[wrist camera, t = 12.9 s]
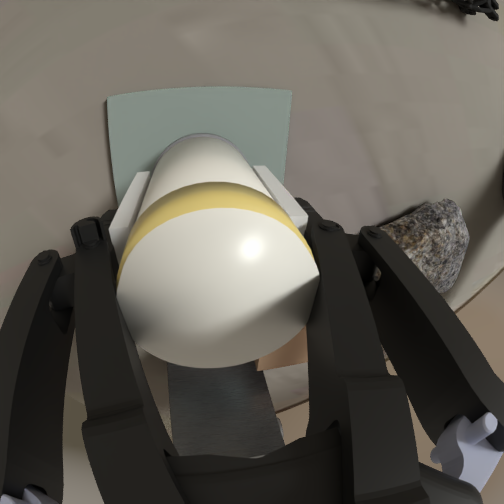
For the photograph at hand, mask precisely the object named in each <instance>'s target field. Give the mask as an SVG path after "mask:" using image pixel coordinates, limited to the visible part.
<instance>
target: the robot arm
mask: <svg viewBox="0 0 504 504" xmlns="http://www.w3.org/2000/svg"><path fill="white" fill-rule="evenodd" d="M252 170H253V171H254V173H255V174H256V175H257V177H258V178H259V180H260V181H261V182H262V184H263V185H264V187H265V188H266V189H267V191H268V192H269V194H270V195H271V197H272V198H273V199H274V201H275V202H276V203H278V204H279V205H280V206H281V207H282V208H283V210H284V211H285V212H286V213H287V214H288V216H289V217H290V219H291V220H292V221H293V223H294V224H295V226H296V227H297V229H298V230H299V232H300V233H301V234H302V236H303V237H304V239H305V240H306V242H307V244H308V246H309V247H310V249H311V252H312V255H313V257H314V261H315V263H316V266H317V269H318V272H319V277H320V281H319V284H318V288H317V292H316V295H315V299H314V302H313V306H312V309H311V313H310V316H309V319H308V322H307V323H306V334H307V353H308V377H309V422H308V427H307V430H306V437H303V438H299V439H297V440H295V441H294V442H292V443H290V444H288V445H286V446H284V447H282V448H280V449H278V450H275V451H273V452H271V453H269V454H267V455H265V456H262V457H259V458H242V457H230V456H220V455H212V454H207V455H194V456H180V455H179V454H178V452H177V450H176V448H175V447H174V445H173V443H172V441H171V439H170V437H169V435H168V433H167V431H166V429H165V426H164V424H163V422H162V419H161V417H160V414H159V412H158V409H157V407H156V404H155V402H154V399H153V396H152V394H151V391H150V388H149V385H148V383H147V380H146V377H145V374H144V371H143V368H142V365H141V362H140V359H139V355H138V352H137V349H136V345H135V342H134V340H133V339H132V336H131V334H130V331H129V329H128V327H127V324H126V322H125V319H124V317H123V314H122V311H121V309H120V306H119V303H118V301H117V298H116V296H117V291H116V282H117V274H118V270H119V266H120V263H121V259H122V256H123V252H124V249H125V246H126V243H127V239H128V236H129V234H130V232H131V229H132V227H133V225H134V224H135V222H136V220H137V217H138V214H139V211H140V208H141V205H142V202H143V200H144V197H145V194H146V191H147V188H148V186H149V183H150V180H151V178H150V171H146V172H137V174H136V176H135V177H134V179H133V181H132V183H131V185H130V187H129V189H128V190H127V192H126V194H125V196H124V198H123V200H122V202H121V204H120V206H119V208H118V209H116V210H108V211H107V212H106V213H105V214H103V215H102V217H101V218H99V217H88V218H84V219H82V220H79V221H78V222H76V223H75V224H74V225H73V226H72V227H71V229H70V230H71V234H72V237H73V241H74V244H75V247H76V253H75V254H73V255H70V256H67V257H63V258H60V256H59V254H58V252H57V251H56V250H47V251H43V252H41V253H39V254H38V255H37V256H36V257H35V258H34V259H33V260H32V262H31V264H30V266H29V268H28V269H27V271H26V273H25V275H24V277H23V279H22V281H21V283H20V285H19V287H18V289H17V291H16V294H15V296H14V298H13V300H12V302H11V305H10V307H9V309H8V312H7V314H6V317H5V319H4V322H3V324H2V327H1V330H0V504H62V500H63V486H64V484H63V454H62V433H63V432H62V431H63V410H64V409H63V408H64V397H65V387H66V378H67V370H68V363H69V357H70V351H71V345H72V340H73V334H74V329H76V343H77V353H78V362H79V370H80V377H81V384H82V390H83V395H84V401H85V406H86V411H87V420H86V421H85V422H83V423H82V435H83V440H84V444H85V448H86V451H87V455H88V459H89V462H90V465H91V468H92V471H93V474H94V477H95V480H96V483H97V486H98V488H99V491H100V494H101V496H102V499H103V501H104V504H483V501H482V498H481V495H480V492H481V490H482V488H483V487H484V485H485V483H486V482H487V481H488V479H489V477H490V476H491V474H492V472H493V470H494V469H495V467H496V465H497V463H498V461H499V459H500V457H501V456H502V454H503V453H504V383H503V382H502V381H501V380H500V379H499V378H498V377H497V376H496V374H495V373H494V372H493V370H492V368H491V367H490V365H489V364H488V362H487V360H486V358H485V357H484V355H483V354H482V352H481V351H480V349H479V348H478V346H477V345H476V343H475V341H474V340H473V338H472V337H471V336H470V334H469V333H468V331H467V330H466V328H465V327H464V326H463V324H462V323H461V322H460V320H459V319H458V318H457V316H456V315H455V313H454V312H453V310H452V309H451V308H450V307H449V305H448V304H447V303H446V301H445V300H444V299H443V297H442V296H441V295H440V294H439V292H438V291H437V290H436V289H435V287H434V286H433V285H432V284H431V283H430V281H429V280H428V279H427V278H426V277H425V275H424V274H423V273H422V272H421V271H420V270H419V268H418V267H417V266H416V265H415V264H414V263H413V262H412V260H411V259H410V258H409V257H408V256H407V255H406V254H405V253H404V251H403V250H402V249H401V248H400V247H399V246H398V245H397V244H396V243H395V242H394V241H393V240H392V239H391V237H390V236H389V235H388V234H387V233H385V232H384V231H383V230H381V229H379V228H378V227H375V226H363V227H362V228H361V230H360V233H359V235H353V234H346V233H345V232H344V230H343V228H342V227H341V226H340V225H339V224H338V223H335V222H333V221H330V220H323V218H322V217H321V216H320V215H319V214H318V213H317V212H316V211H315V209H314V208H313V207H312V206H311V205H310V204H309V203H308V202H307V201H305V200H303V199H302V198H293V197H292V196H291V194H290V193H289V192H288V191H287V190H286V189H285V187H284V186H283V185H282V184H281V183H280V182H279V181H278V179H277V178H276V177H275V176H274V175H273V174H272V173H271V172H270V170H269V169H268V168H267V167H266V166H253V168H252ZM503 198H504V176H503ZM378 269H379V270H380V272H381V276H380V278H379V280H378V279H377V277H376V273H377V270H378ZM49 305H50V306H49ZM380 342H381V343H380ZM381 344H382V346H383V348H384V350H385V352H386V353H387V355H388V357H389V359H390V361H391V363H392V365H393V366H394V369H395V371H396V373H397V375H398V376H394V375H390V374H389V373H388V370H387V367H386V363H385V359H384V355H383V351H382V347H381ZM406 393H407V394H406ZM407 395H408V397H409V400H410V402H411V404H412V406H413V408H414V411H415V413H416V415H417V417H418V419H419V421H420V423H421V425H422V427H423V429H424V430H425V432H426V433H427V435H428V436H429V438H430V439H431V440H432V442H433V443H434V444H435V445H436V447H435V448H434V449H433V450H432V451H431V456H430V457H431V460H432V462H433V463H441V465H442V470H443V471H442V472H441V471H438V470H436V469H434V468H431V467H429V466H427V465H424V464H423V463H420V462H418V454H417V447H416V441H415V435H414V429H413V423H412V418H411V413H410V408H409V403H408V398H407Z"/></svg>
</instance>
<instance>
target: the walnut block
mask: <svg viewBox="0 0 504 504" xmlns="http://www.w3.org/2000/svg"><path fill="white" fill-rule="evenodd" d="M254 361H255V365H256V369H257V371H262V370H268V369H274V368H279V367H285V366H290V365H295V364H300V363H305V362H308V353H307V334H306V325H305V326H304V327H303V328H302V329H301V331H300V332H299V333H298V334H297V335H296V336H294V337H293V338H292V339H291V340H290V341H289V342H287V343H286V344H285V345H283V346H282V347H280V348H278V349H277V350H275V351H274V352H272V353H270V354H268V355H266V356H263V357H261V358H259V359H256V360H254Z"/></svg>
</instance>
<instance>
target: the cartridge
mask: <svg viewBox="0 0 504 504" xmlns="http://www.w3.org/2000/svg"><path fill="white" fill-rule="evenodd" d="M319 281H320V277H319V272H318V269H317V266H316V263H315V261H314V257H313V255H312V252H311V249H310V247H309V246H308V244H307V242H306V240H305V239H304V237H303V236H302V234H301V233H300V232H299V230H298V229H297V227H296V226H295V224H294V223H293V221H292V220H291V219H290V217H289V216H288V214H287V213H286V212H285V211H284V210H283V208H282V207H281V206H280V205H279V204H278V203H276V202H275V201H274V199H273V198H272V197H271V195H270V194H269V192H268V191H267V189H266V188H265V187H264V185H263V184H262V182H261V181H260V180H259V178H258V177H257V175H256V174H255V173H254V171H253V170H252V168H251V167H250V166H249V163H248V161H247V159H246V158H245V156H244V155H243V153H242V152H241V151H240V150H239V148H238V147H237V146H236V145H235V144H233V143H232V142H231V141H229V140H228V139H226V138H224V137H222V136H219V135H216V134H211V133H194V134H190V135H186V136H183V137H181V138H179V139H177V140H175V141H174V142H172V143H171V144H170V145H168V146H167V147H166V148H165V149H164V150H163V152H162V153H161V154H160V156H159V157H158V159H157V161H156V163H155V166H154V168H153V171H152V175H151V180H150V183H149V186H148V188H147V191H146V194H145V197H144V200H143V202H142V205H141V208H140V211H139V214H138V217H137V220H136V222H135V224H134V225H133V227H132V229H131V232H130V234H129V236H128V239H127V243H126V246H125V249H124V252H123V256H122V259H121V263H120V266H119V270H118V274H117V282H116V291H117V296H116V298H117V301H118V303H119V306H120V309H121V311H122V314H123V317H124V319H125V322H126V324H127V327H128V329H129V331H130V334H131V336H132V339H133V340H134V342H135V343H136V344H138V345H139V346H140V347H141V348H143V349H144V350H145V351H147V352H148V353H150V354H152V355H153V356H156V357H158V358H160V359H162V360H165V361H167V362H170V363H173V364H177V365H181V366H187V367H194V368H222V367H229V366H235V365H239V364H244V363H247V362H250V361H253V360H256V359H259V358H261V357H263V356H266V355H268V354H270V353H272V352H274V351H275V350H277V349H278V348H280V347H282V346H283V345H285V344H286V343H287V342H289V341H290V340H291V339H292V338H293V337H294V336H296V335H297V334H298V333H299V332H300V331H301V329H302V328H303V327H304V326H305V325H306V323H307V322H308V319H309V316H310V313H311V309H312V306H313V302H314V299H315V295H316V292H317V288H318V284H319Z"/></svg>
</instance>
